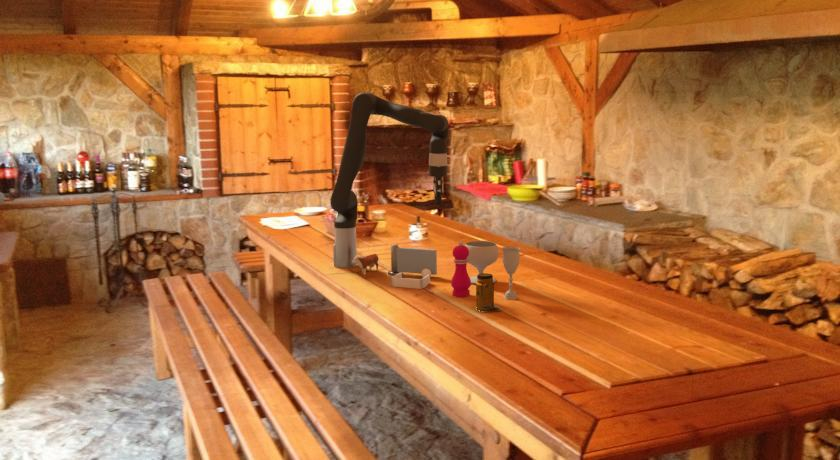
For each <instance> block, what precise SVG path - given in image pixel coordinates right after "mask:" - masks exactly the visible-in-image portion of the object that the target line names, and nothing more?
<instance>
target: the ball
mask: <svg viewBox="0 0 840 460" xmlns="http://www.w3.org/2000/svg"><path fill="white" fill-rule="evenodd" d="M420 275H421V277H422V278H423V277H425V276H427V275H430V277H431V276H432V274H431V271H430V270H429V269H427V268H426V269H423V270H422V272H421V274H420Z"/></svg>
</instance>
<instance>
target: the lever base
mask: <svg viewBox="0 0 840 460" xmlns="http://www.w3.org/2000/svg"><path fill="white" fill-rule="evenodd" d="M398 273H400V272H392V271H391V270H389V271H387V275H389V276H392V277H393V276H395V275H396V274H398Z"/></svg>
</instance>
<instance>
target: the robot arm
mask: <svg viewBox="0 0 840 460" xmlns="http://www.w3.org/2000/svg"><path fill="white" fill-rule="evenodd" d="M351 105H352V106H351V112H350V119H349V120H350V121H349V127H348V129H347V133H346V138H345V141H344V145H343V150H342V155H341V158H340V159H341V160H340V164H339V169H338V174H337V178H336V181H335V184H334V187H333V191H332V192H331V196H330V206H331V208H332V210H333V211H335V212H336V213H337V216H336V218H335V220H334V225H333V226H334V244H333V245H332V249H333V251H332V253H333V267H336V268H341V269H349V268H355V267H357V266H358V264H356V263H353V262H352V261H353V260H354V258H355V257H356V256H358V254H357V253H358V252H357V250H358V249H357V225H356V224H357V220H358V197H357V195H356V193H355V191H353V189H352V188H353V184H354V181H355V179H356V177H357V175H358V174H359V172H360V170H361V169H362V166H363V163H364V161H365V156H366V152H367V128H368V123H369V121H370V117H371V115H375V116H383V117H386V118H390V119H393V120H395V121H397V122H399V123H402V124H406V125H409V126H413V127H416V128H421V129H423V130H426V131H429V132H431V138H430V141H429V156H428V157H429V158H428V175H429V177H433V179H432V187H433V188H432V190H433V193H434V196H433V198H434V203H435V205H436V206H441V205H442V196H443V191H444V180H442V177H447V176H448V152H447V151H448V149H447V148H448V144H447V142H448V134H449V120H448V118H447V117H446V116H445V115H443V114H434V113H430V112H426V111H424V110H421V109H419V108H414V107H411V106H408V105H403V104H400V103H399V104H398V103H394V102H392V101H389V100H386V99H383V98H381V97H379V96H377V95H375V94H374V93H372V92H361V93H358V94H357V95H355V97H354V98H353V100H352V104H351Z"/></svg>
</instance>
